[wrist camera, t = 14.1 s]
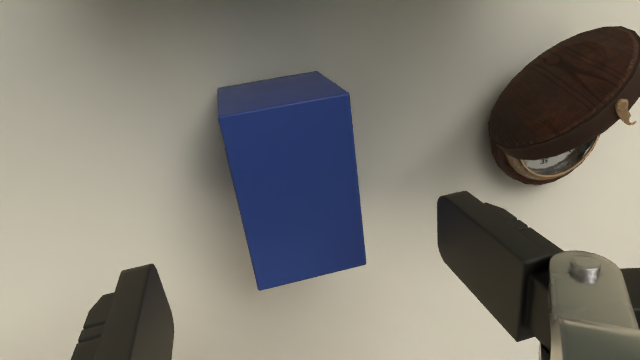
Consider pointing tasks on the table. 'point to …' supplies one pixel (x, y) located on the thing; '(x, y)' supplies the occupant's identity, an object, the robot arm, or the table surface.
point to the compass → (565, 104)
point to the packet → (294, 176)
